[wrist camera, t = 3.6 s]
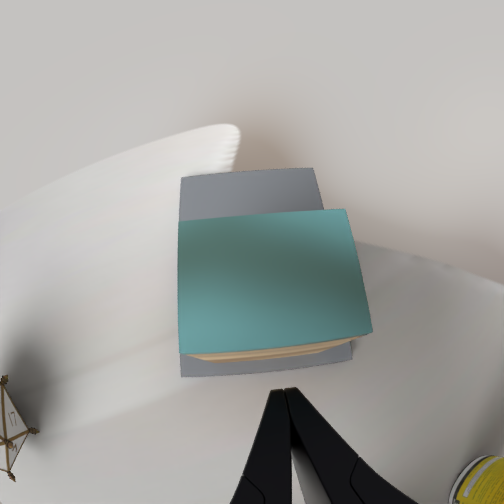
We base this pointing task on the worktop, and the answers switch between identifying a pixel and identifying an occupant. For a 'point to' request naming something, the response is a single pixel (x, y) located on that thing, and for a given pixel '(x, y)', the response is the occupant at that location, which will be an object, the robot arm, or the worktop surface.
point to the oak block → (268, 286)
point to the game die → (10, 430)
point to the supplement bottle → (480, 482)
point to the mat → (250, 203)
